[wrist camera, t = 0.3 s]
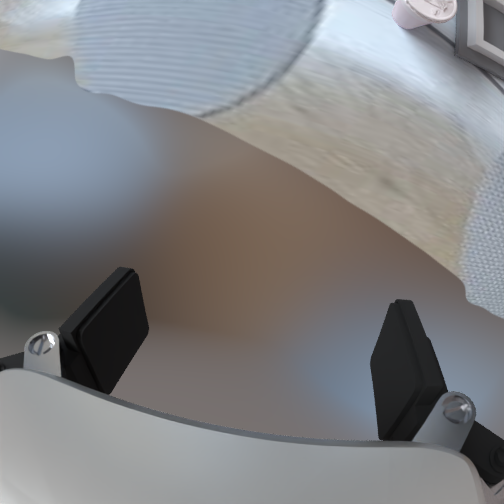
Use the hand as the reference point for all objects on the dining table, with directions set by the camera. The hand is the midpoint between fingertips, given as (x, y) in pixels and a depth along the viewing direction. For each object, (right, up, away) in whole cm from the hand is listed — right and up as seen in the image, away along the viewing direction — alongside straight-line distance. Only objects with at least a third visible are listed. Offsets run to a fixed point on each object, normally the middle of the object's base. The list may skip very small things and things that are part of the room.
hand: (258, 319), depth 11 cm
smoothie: (+19, +32, +15) cm, 40 cm away
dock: (+33, +33, +12) cm, 48 cm away
